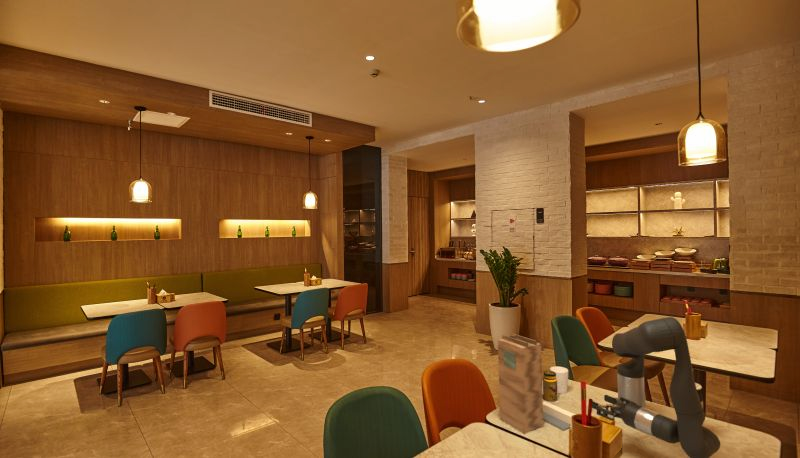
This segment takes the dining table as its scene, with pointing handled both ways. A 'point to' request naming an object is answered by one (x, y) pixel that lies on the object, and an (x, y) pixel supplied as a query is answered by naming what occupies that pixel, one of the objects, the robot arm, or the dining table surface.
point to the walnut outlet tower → (520, 382)
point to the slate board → (556, 422)
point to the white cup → (561, 379)
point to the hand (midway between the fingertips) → (597, 400)
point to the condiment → (550, 387)
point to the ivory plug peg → (557, 412)
